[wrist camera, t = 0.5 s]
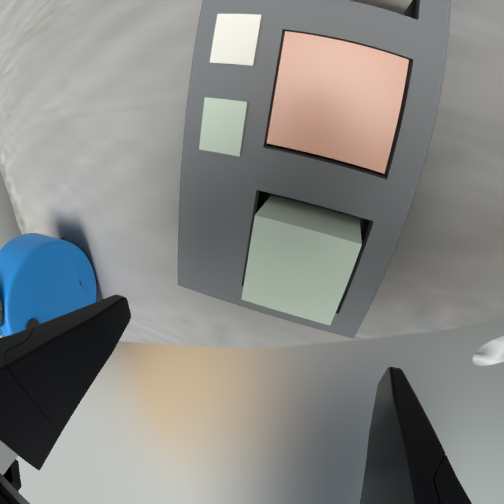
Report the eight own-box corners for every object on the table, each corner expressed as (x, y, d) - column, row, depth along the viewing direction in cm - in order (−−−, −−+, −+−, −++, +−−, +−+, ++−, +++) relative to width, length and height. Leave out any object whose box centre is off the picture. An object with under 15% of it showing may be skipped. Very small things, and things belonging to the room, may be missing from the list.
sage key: (359, 218, 16) (361, 244, 13) (334, 291, 19) (330, 325, 16) (271, 194, 17) (254, 215, 14) (257, 269, 20) (241, 299, 17)
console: (433, -45, 8) (448, -70, 4) (354, 303, 22) (353, 340, 18) (248, -75, 10) (227, -101, 7) (201, 258, 24) (176, 286, 21)
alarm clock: (53, 213, 28) (-47, 278, 16) (85, 218, 27) (-29, 297, 14) (79, 303, 35) (7, 373, 22) (111, 316, 33) (35, 399, 20)
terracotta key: (395, 69, 12) (409, 59, 9) (375, 160, 15) (384, 173, 12) (297, 46, 13) (285, 31, 10) (281, 136, 16) (266, 143, 13)
